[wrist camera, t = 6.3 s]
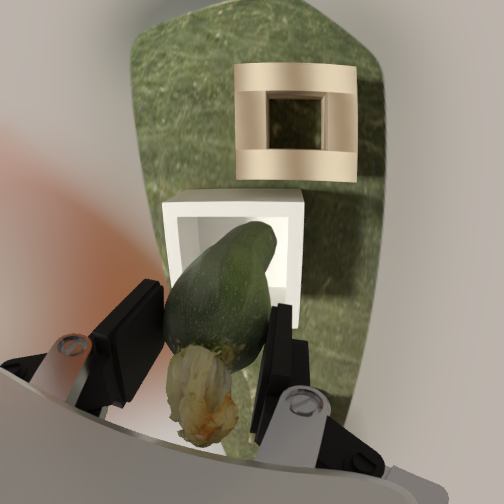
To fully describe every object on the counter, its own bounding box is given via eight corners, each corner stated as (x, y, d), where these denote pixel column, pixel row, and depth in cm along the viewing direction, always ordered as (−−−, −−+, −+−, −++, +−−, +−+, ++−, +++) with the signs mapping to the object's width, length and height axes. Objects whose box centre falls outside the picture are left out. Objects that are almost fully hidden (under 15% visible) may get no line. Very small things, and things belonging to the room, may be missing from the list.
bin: (300, 189, 35) (304, 202, 27) (296, 294, 40) (297, 328, 32) (186, 189, 36) (162, 202, 29) (195, 289, 41) (177, 321, 34)
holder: (345, 78, 29) (356, 66, 24) (345, 175, 34) (356, 182, 28) (243, 76, 31) (234, 64, 25) (244, 173, 35) (236, 179, 29)
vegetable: (233, 256, 26) (124, 470, 7) (224, 206, 24) (55, 373, 6) (285, 250, 25) (262, 490, 6) (278, 199, 24) (230, 392, 5)
